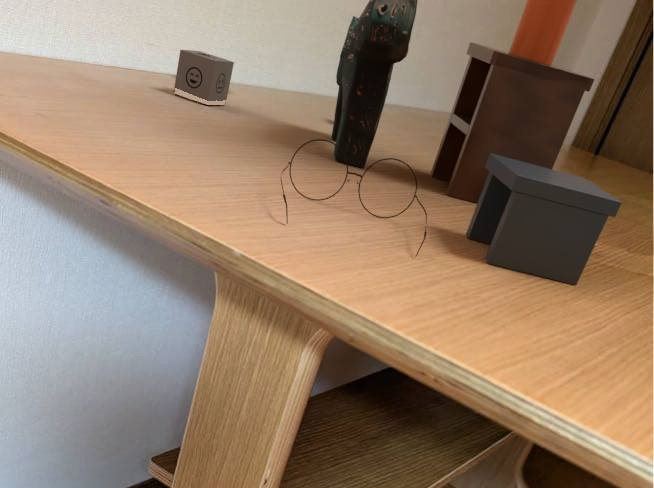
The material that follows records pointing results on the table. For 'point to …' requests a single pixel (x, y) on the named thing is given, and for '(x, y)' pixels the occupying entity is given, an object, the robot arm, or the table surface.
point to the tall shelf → (505, 117)
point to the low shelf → (539, 219)
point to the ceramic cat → (368, 74)
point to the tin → (542, 29)
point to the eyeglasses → (357, 183)
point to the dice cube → (203, 75)
